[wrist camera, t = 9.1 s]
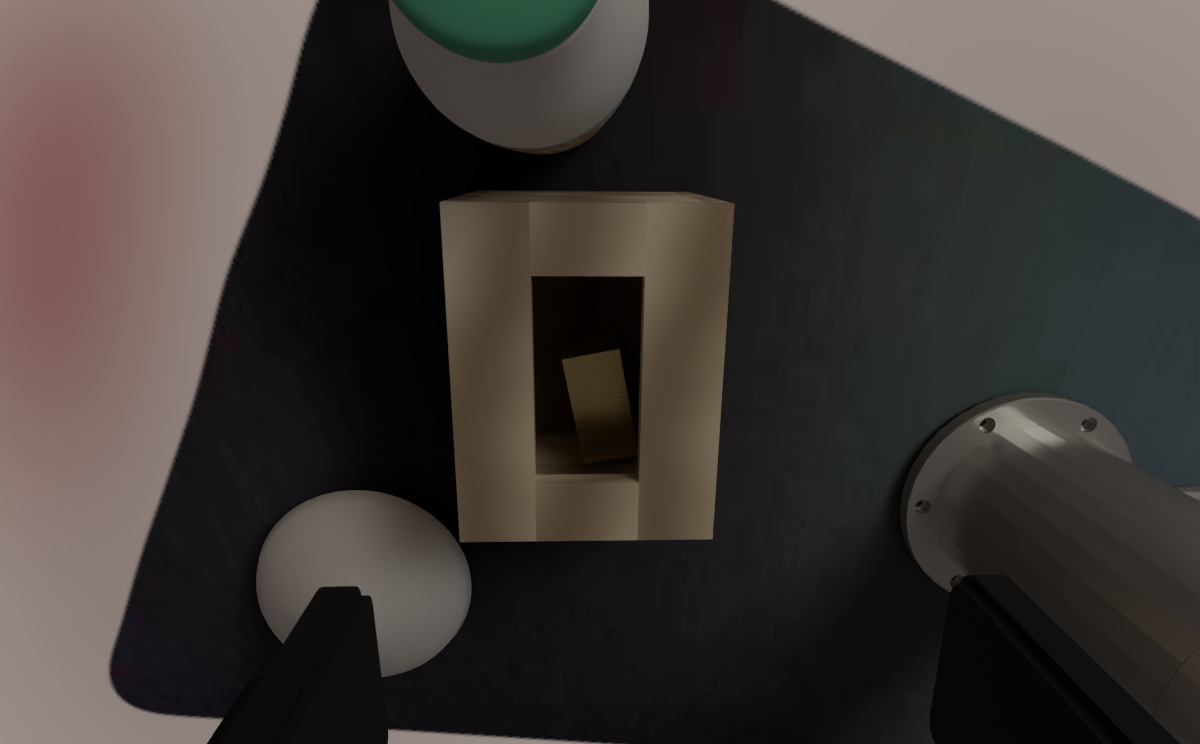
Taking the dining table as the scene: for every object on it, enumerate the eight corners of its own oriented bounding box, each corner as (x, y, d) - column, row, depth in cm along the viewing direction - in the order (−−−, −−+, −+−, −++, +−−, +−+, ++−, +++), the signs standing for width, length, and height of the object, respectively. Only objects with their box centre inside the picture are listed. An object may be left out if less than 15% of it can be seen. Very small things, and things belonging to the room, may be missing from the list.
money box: (687, 191, 33) (734, 203, 23) (676, 440, 36) (712, 538, 27) (479, 190, 32) (439, 201, 23) (490, 441, 36) (459, 542, 27)
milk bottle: (442, -23, 30) (204, -358, 11) (618, -38, 30) (697, -399, 11) (468, 161, 32) (309, 159, 13) (630, 147, 32) (714, 124, 13)
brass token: (619, 349, 29) (638, 454, 30) (612, 322, 34) (629, 414, 35) (561, 359, 29) (583, 464, 30) (563, 331, 34) (582, 423, 35)
